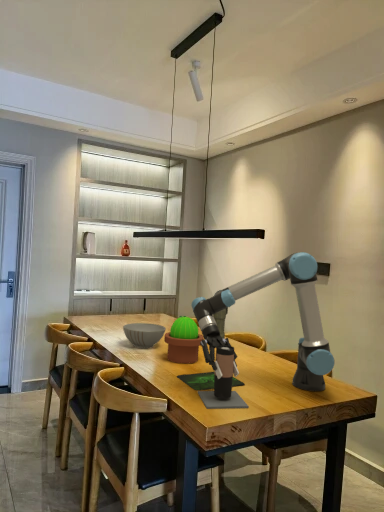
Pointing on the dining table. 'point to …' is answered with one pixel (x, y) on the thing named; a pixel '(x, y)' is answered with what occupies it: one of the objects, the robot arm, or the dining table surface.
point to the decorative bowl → (143, 334)
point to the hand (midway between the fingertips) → (228, 376)
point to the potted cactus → (183, 341)
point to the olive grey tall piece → (221, 321)
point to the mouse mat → (203, 381)
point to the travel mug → (224, 371)
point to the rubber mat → (222, 400)
